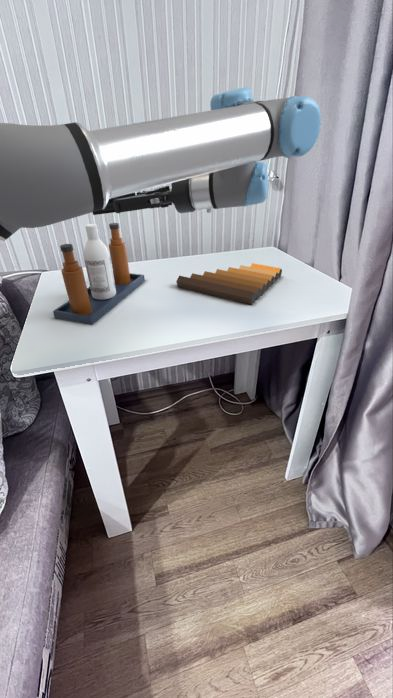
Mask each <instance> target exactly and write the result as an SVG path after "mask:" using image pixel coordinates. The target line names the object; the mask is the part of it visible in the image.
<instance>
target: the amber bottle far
mask: <svg viewBox="0 0 393 698" xmlns="http://www.w3.org/2000/svg"><path fill="white" fill-rule="evenodd" d="M108 226H109V227H108V228H109V230H110V235H111V238H110V239H109V242H110V243H109V244H108V251H109V254H110V258H111V264H112V270H113V275H114V281H115V284H118V285H125V284H128V283H130V281H131V280H130V273H131V272H130V267H129V259H128V253H127V245H126V243H125V242H124V241H123V237H121V234H120V233H121V232H120V223H118V222H111V223H109V224H108Z"/></svg>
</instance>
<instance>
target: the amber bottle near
mask: <svg viewBox="0 0 393 698" xmlns="http://www.w3.org/2000/svg"><path fill="white" fill-rule="evenodd" d="M59 248H60V251H61V252H62V256H63V259H64V262H62V267H63V268H62V269H61V275H62V280H63V283H64V288H65V291H66V295H67V298H68V301H69V303H70V306H71V310H72V313H77V314H83V315H89V314H90V313H91V312H92V309H91V305H90V300H89V296H88V291H87V288H88V287H87V283H86V277H85V274H84V269H83V267H82V266H80V265H79V261H78V260H76V259H75V254H74V247H73V244H72V243H64V244H61V245H60V246H59Z"/></svg>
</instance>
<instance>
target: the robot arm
mask: <svg viewBox="0 0 393 698" xmlns="http://www.w3.org/2000/svg"><path fill="white" fill-rule="evenodd" d="M252 93H253V92H252V90H251V88H249V87H240V88H236V89H231V90H226V91H223V92H219V93H216V94H214V95H213V96H212V97H211V98H210V102H209V103H210V104H209V106H210V110H205V111H200V112H193V113H188V114H187V113H186V114H181V115H176V116H170V117H162V118H158V119H152V120H145V121H140V122H135V123H128V124H123V125H116V126H110V127H105V128H99V129H92V130H88V129H87V128H86V127H85V126H84V125H82V124H81V123H80V122H77V121H76V122H69V123H63V124H51V125H50V124H49V125H44V124H43V125H42V124H41V125H40V124H39V125H37V124H36V125H31V124H19V123H10V122H0V241H7V240H8V239H9V238H10V237H11V236H12V235H14V234H15V233H17V232H18V231H19V230H20V229H21V228H22V229H23V228H24V229H37V228H42V227H47V226H50V225H53V224H58V223H61V222H64V221H68V220H72V219H75V218H78V217H81V216H84V215H89V214H91V213H92V216H96V215H97V216H98V215H105V214H113V213H116V214H121V213H127V212H133V211H140V210H147V209H151V210H152V209H159V208H162V209H164V208H168V207H169V206H172V205H173V206H174V208H175V210H176V212H177V213H179V214H188V213H194V212H195V211H197V212H202V211H206V213H208V214H211V212H212V210H218V209H228V208H230V209H231V208H238V207H248V206H253V205H258V204H262V203H265V201H266V200H267V198H268V193H269V192H268V191H269V190H268V189H269V178H268V176H269V175H268V165H267V164H266V162H264V161H266V160H269V159H273V158H274V159H275V158H279V157H284V158H286V159H291V158H298V157H303V156H304V155H307V153H309V152H310V151H311V150H312V149H313V148H314V146H315V145H316V143H317V140H318V139H319V135H320V132H321V121H322V115H321V114H322V113H321V109H320V107H319V104H318V103H317V101H316V100H314V99H313V98H312V97H310V96H298V95H293V96H289V97H283V98H274V99H268V100H255V101H254V99H253V94H252ZM170 184H171V186H170ZM153 188H154V189H153Z"/></svg>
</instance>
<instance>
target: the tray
mask: <svg viewBox="0 0 393 698" xmlns="http://www.w3.org/2000/svg"><path fill="white" fill-rule="evenodd" d="M129 273H130V280H131V281H130V283H128V284H125V285H118V284H115V288H116V295H115V296H114V297H113V298H110V299H107V300H97V299H94V298H93V297H92V293H91V289H90V286H89V287H87V291H88V296H89V300H90V305H91V309H92V312H91V313H90V314H89V315H83V314H77V313H72V310H71V306H70V303H69V300H67V301H66V302H64V303H63V304H62V305H60V306H58V307H57V308H55V309H54V310H52V313H53V316H54V319H58V320H64V321H69V322H75V323H81V324H88V325H92V326H93V325H94V324H95V323H97V322H98V321H99V320H100V319H101V318H103V316H105V315H106V314H107V313H108V312H110V311H111V310H112V309H113V308H114V307H115V306H116V305H118V304H119V303H120V302H122V301H123V300H124V299H126V297H128V296H129V295H130V294H131V293H132V292H133V291H135V290H136V289H137V288H138V287H139V286H140V285H142V284H143V283H144V282H145V281H146V279H145V274H140V273H131V272H129ZM113 276H114V275H113ZM114 282H115V281H114Z"/></svg>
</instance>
